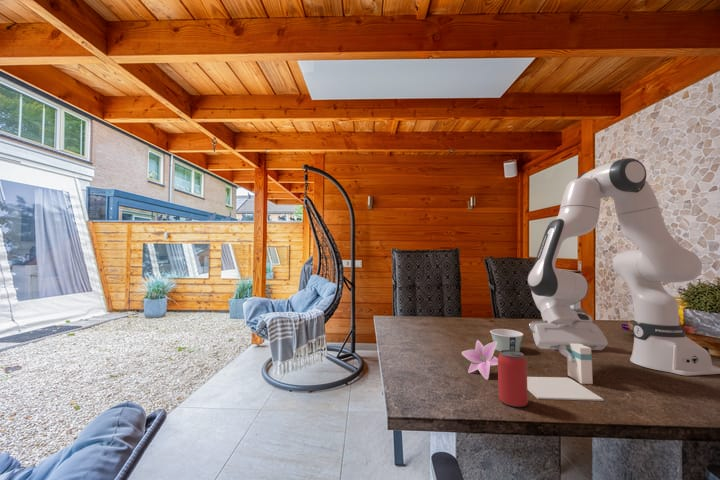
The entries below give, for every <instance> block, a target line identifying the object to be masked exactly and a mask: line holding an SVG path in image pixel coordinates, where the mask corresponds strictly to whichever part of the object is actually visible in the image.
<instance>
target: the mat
mask: <svg viewBox="0 0 720 480" xmlns="http://www.w3.org/2000/svg"><path fill="white" fill-rule="evenodd" d="M527 388H528V391H529V392H530V393H531V395H532V396H534V397H535V398H536V399H537V400H557V401H558V400H559V401H560V400H562V401H594V402H596V401H599V402H604V401H605V399H604V398H602V397H601V396H599V395H598V394H596V393H594V392H593V391H592V390H590V389H588V388H587V387H585V386H583V384H581V383H580V382H579V383H578V381H576V380H575V379H573V378H572V377H559V376H557V377H555V376H554V377H553V376H550V377H549V376H527Z"/></svg>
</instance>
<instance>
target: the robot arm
mask: <svg viewBox="0 0 720 480" xmlns="http://www.w3.org/2000/svg"><path fill="white" fill-rule="evenodd" d="M607 198H611V199H612V200H613V201H614V208H615V212H616V216H617V220H618V224H619V227H620V228H619V229H620V230H621V234H622V236H623V237H624V238H625V239H627V240H630V242H632V243H634V245H636V247H637V248H638V249H631V250H627V251H625V250H624V251H621V252H620V253H619V252H618V253H617V254H616V255H615V256H614V257H613V260H612V268H613V271H614V272H615V273H616V274H617V275H618V276H619V277H620V278H621V279H622V280H623V281H624V283H625V284H626V286H627V288H628V290H629V293H630V296H631V299H632V310H633V320H632V331H633V335H634V337H633V346H632V351H631V356H630V359H629V361H630V362H631V363H633V364H634V365H637V366H640V367H643V368H647V369H652V370H657V371H661V372H665V373H666V372H667V373H672V374H676V375H679V376H680V375H681V376H703V375H704V376H705V375H720V367H719V366H716V365H713V363H712V357H711V355H710V352H708V350H707V349H705V348H704V347H702V346H701V345H699V344H698V343H696V342H695V341H693V340H692V339H691V338H689V337H687V334H686V333H688V334H694V332H695V331H696V330H695V329H694V327H692V326H687V325H684V326H682V325H681V324H680V311H679V302H678V300H677V299H676V297H674V296H673V295H671V294H670V293H668V292H667V290H666V289H665V288H664V286H663V284H662V283H673V284H675V283H685V282H690V281H693V280H696V279H697V278H699V276H700V275H701V272H702V269H703V263H702V261H701V258H700V257H699V255H697V254H696V253H695V252H693V251H692V250H689V249H687V248H685V247H684V246H682V245H681V244H680V243H679V242H678V241H677V240H676V239H675V238H674V237H673V235H672V234H671V233H670V231H669V230H668V228H667V226H666V224H665V221H664V219H663V215H662V211H661V208H660V205H659V201H658V199H657V197H656V195H655V191H653V188H652V186H651V185H650V183H649V182H648V181H647V170H646V167H645V165H644V164H643V163H642V162H641V161H640V160H639V159H637V158H632V157H630V158H629V157H627V158H620V159H617V160H615V161H612V162H608V163H605V164H601V165H598V166H597V167H595V168H594V169H591V170H589V171H585V172H583V173H581V174H580V175H579V176H577V177H576V178H575V179H572V180H571V181H569V182H568V183H567V185H566V187H565V189H564V192H563V195H562V198H561V201H560V206H559V212H558V215H557V217H556V218H555V219H554V220H552V221H551V222H549V224H548V225H547V227H546V230H545V232H544V235H543V237H542V239H541V243H540V246H539V249H538V251H537V255H536V258H535V260H534V263H533V265H532V267H531V268H530V271H529V272H528V275H527V277H526V279H527V280H526V281H527V285H528V287H529V289H530V291H531V295H532V299H533V301H534V304H535V306H536V308H537V309H538V310H539V311H540V315H541V318H542V320H532V321H531V322H529V324H528V326H529V330H530V331H531V332H532V336H533V340H534V343H535V347H538V349H540V350H552V349H559V353H560V354H561V355H562V356H564V357H565V358H566V360H568V362H575V361H576V358H575V356H574V354H570V353H569V352H568V351H567V345H570V344H582V345H584V346H587V347H589V348H591V351H593V350H594V351H595V350H596V351H598V350H599V351H602V350H604V349H605V348H606V347H607V345H608V343H609V342H608V340H607V339H608V338H607V337H606V336H605V334H604V333H603V332H602V329H601V328H600V327H599V326H598V325H597V324H595V323H594V322H593V317H592V316H590V315H589V314H587V313H586V314H581V313H578V312H575V311H572V310H570V308H569V306H570V305H573V304H575V303H577V302H579V301H580V300H581V301H582V300H584V299H585V297H587V295H588V293H589V289H590V287H589V283H588V280H587V279H586V277H584V275H583V274H580V273H578V272H577V273H576V272H573V271H570V270H564V269H560V268H557V267H556V262H557V259H558V255H559V253H560V250H561V247H562V244H563V243H564V241H566V240H567V239H570V238H575V237H579V236H581V237H582V236H583V235H587V234H590V233H591V232H592V231H593V230H594V229H595V228H596V227H597V224H598V222H599V218H600V210H601V200H602V199H607Z"/></svg>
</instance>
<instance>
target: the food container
mask: <svg viewBox="0 0 720 480" xmlns="http://www.w3.org/2000/svg"><path fill="white" fill-rule="evenodd" d="M489 333H490V334H491V340H492V342H494V341H497V345H496V348H495V351H496V350H497V351H498V352H500V351H501V350H514V351H518V352H520V351H521V346H522V339H523V336H524V333H523V332H521V331H518V330H513V329H508V328H507V329H505V328H495V329H494V328H493V329H491V330H489Z"/></svg>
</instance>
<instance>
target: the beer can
mask: <svg viewBox="0 0 720 480" xmlns="http://www.w3.org/2000/svg"><path fill="white" fill-rule="evenodd" d="M497 359H498V365H497V384H498V399H499V401H500V402H502V403H503V404H505V405H507V406H510V407H515V408H523V407H525V406H527V405H528V403H529V397H528V395H529V394H528V388H527V377H528V363H527V361H526V359H525V354H524V353H523V352H520V351H519V352H518V351H514V350H501V351H499V355H498V357H497Z"/></svg>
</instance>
